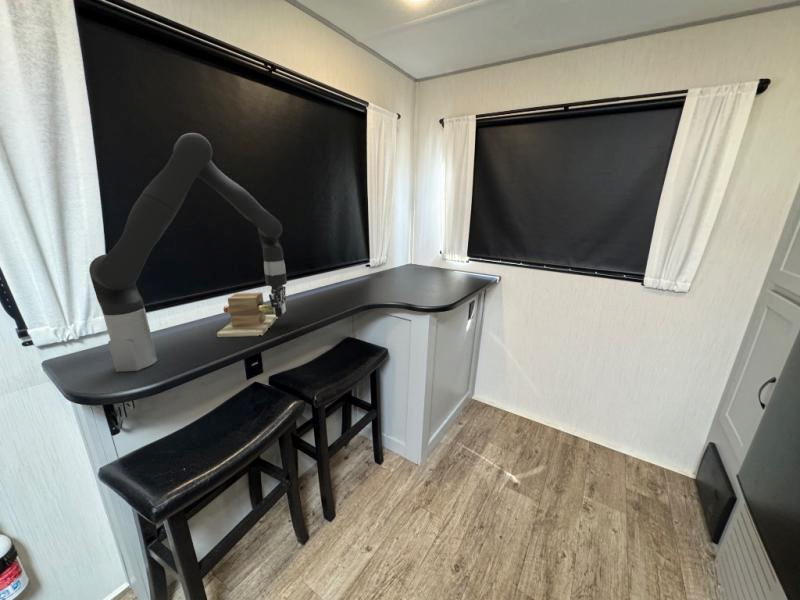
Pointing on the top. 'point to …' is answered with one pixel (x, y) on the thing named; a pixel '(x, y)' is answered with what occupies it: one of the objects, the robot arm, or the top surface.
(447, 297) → the top surface
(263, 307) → the bolt
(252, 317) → the block
